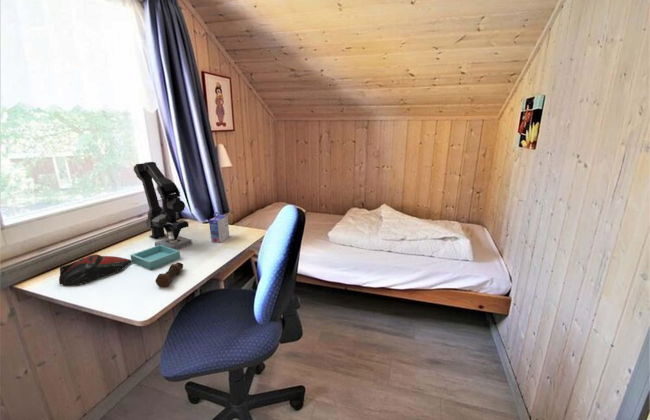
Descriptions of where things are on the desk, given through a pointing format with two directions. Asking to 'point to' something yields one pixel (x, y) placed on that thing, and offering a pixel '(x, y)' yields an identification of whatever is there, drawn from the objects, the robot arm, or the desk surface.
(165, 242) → the frame
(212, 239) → the ink cartridge box
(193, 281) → the desk surface
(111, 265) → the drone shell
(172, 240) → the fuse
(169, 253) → the parts tray
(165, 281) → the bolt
